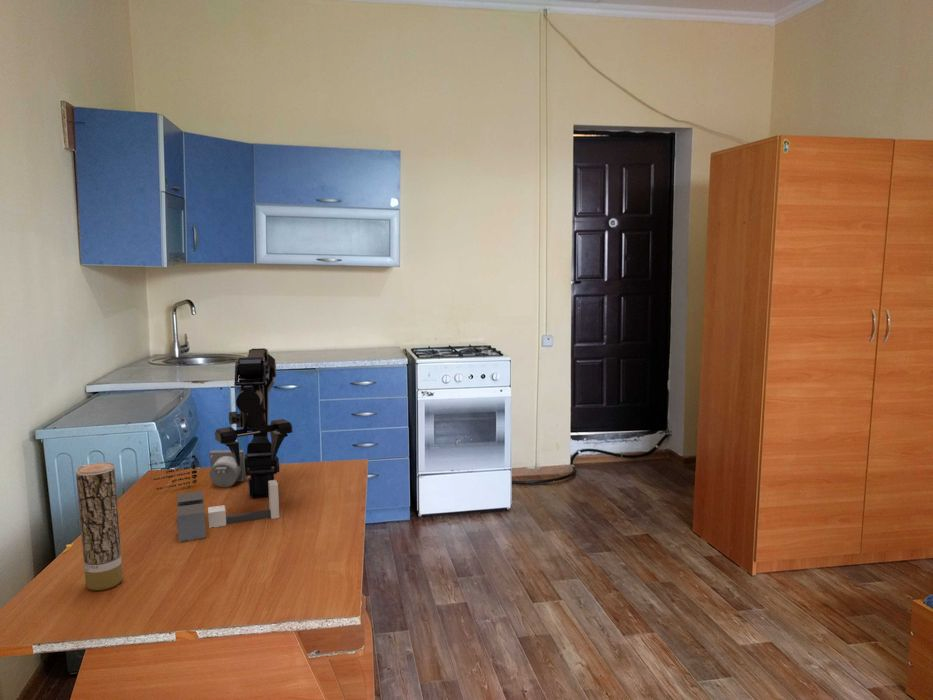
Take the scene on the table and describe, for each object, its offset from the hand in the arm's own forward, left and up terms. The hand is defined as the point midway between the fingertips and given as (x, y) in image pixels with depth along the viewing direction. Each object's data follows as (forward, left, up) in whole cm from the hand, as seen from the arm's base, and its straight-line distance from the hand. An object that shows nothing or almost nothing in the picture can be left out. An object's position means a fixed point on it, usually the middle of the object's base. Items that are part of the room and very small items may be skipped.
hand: (255, 462), depth 175 cm
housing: (+16, +4, -14) cm, 22 cm away
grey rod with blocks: (+4, +5, -13) cm, 15 cm away
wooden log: (+33, +28, -14) cm, 46 cm away
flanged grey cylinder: (+13, -26, -14) cm, 32 cm away
